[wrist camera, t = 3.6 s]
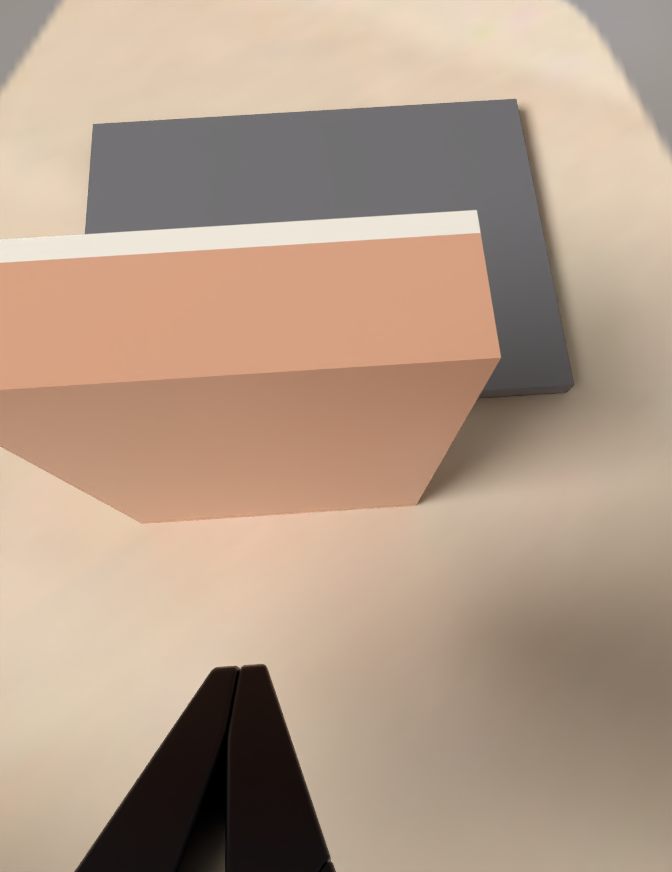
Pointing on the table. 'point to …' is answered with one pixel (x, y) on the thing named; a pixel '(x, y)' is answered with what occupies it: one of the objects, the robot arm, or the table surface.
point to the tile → (246, 361)
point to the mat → (352, 195)
